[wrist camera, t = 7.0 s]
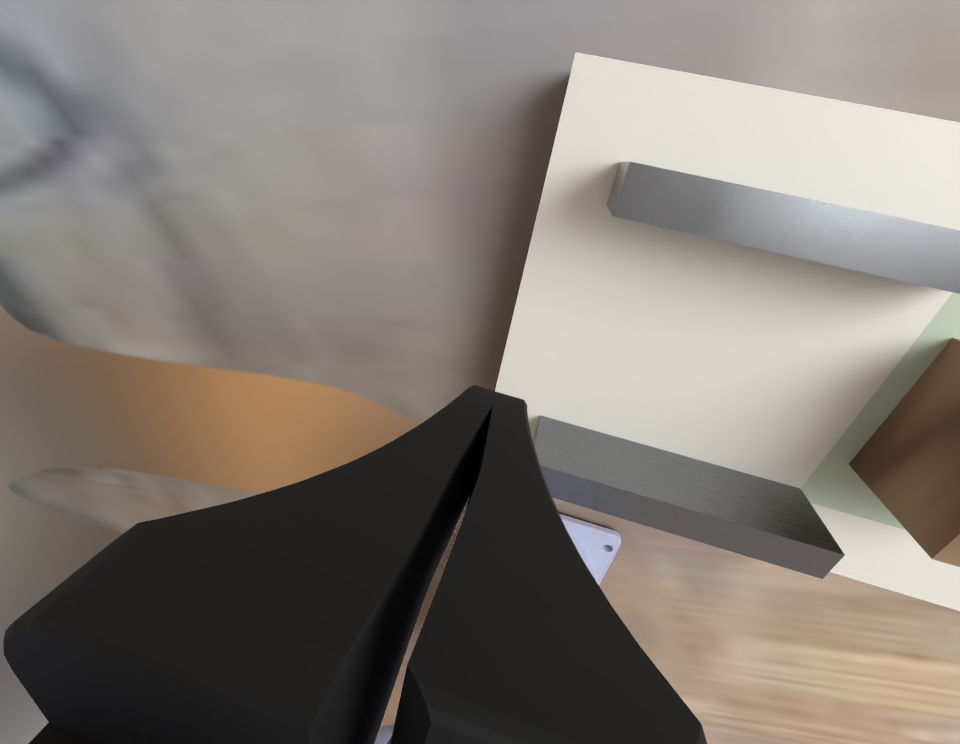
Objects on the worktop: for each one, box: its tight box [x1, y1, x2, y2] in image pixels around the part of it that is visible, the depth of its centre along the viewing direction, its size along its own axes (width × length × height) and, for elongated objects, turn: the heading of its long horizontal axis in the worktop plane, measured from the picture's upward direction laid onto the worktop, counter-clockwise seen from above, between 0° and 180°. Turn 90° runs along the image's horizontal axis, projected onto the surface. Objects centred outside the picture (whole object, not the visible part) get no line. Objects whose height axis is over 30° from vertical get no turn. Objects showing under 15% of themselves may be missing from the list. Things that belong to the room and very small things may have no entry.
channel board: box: [495, 52, 960, 611], centre depth 14 cm, size 15×26×2 cm, turn 79°
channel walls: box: [533, 162, 960, 579], centre depth 13 cm, size 10×10×3 cm
